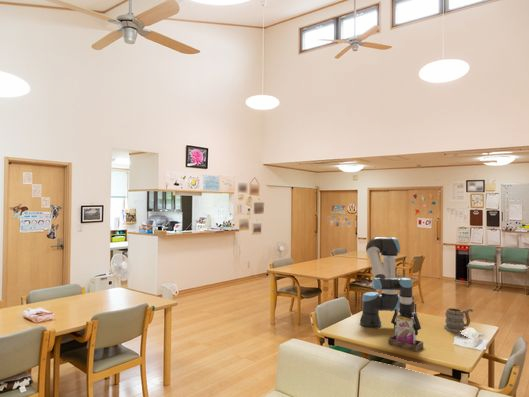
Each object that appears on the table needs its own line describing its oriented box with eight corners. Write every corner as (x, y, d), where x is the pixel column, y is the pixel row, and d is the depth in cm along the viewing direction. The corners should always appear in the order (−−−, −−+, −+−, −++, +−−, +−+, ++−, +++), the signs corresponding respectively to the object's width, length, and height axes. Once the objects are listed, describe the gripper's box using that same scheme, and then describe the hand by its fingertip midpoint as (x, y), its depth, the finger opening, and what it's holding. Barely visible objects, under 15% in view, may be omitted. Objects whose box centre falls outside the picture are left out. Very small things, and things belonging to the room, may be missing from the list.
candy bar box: (395, 341, 243) (395, 315, 243) (398, 339, 247) (398, 313, 247) (413, 345, 236) (413, 319, 236) (415, 343, 239) (416, 317, 240)
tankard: (450, 332, 266) (450, 311, 266) (441, 326, 279) (441, 306, 279) (478, 332, 267) (478, 311, 267) (468, 326, 279) (468, 306, 280)
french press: (398, 316, 302) (398, 287, 303) (405, 314, 308) (405, 286, 308) (412, 320, 293) (412, 290, 293) (419, 318, 299) (419, 288, 299)
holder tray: (388, 343, 244) (388, 338, 244) (395, 339, 251) (395, 334, 251) (416, 351, 231) (416, 346, 231) (423, 347, 238) (423, 341, 238)
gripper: (385, 300, 247) (385, 334, 247) (421, 307, 230) (421, 344, 230) (391, 298, 252) (390, 331, 252) (426, 305, 235) (426, 340, 235)
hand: (405, 337), depth 241 cm, fingers closed on candy bar box, 11 cm apart
